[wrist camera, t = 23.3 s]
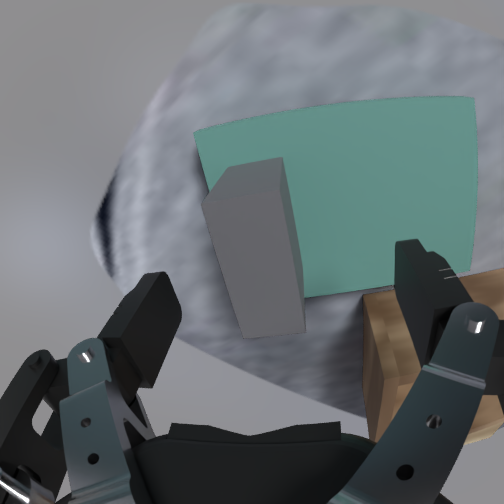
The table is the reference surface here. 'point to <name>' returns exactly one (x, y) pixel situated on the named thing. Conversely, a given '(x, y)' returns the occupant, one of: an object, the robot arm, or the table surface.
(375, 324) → the open wooden box
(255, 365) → the table surface
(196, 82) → the table surface
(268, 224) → the lid
